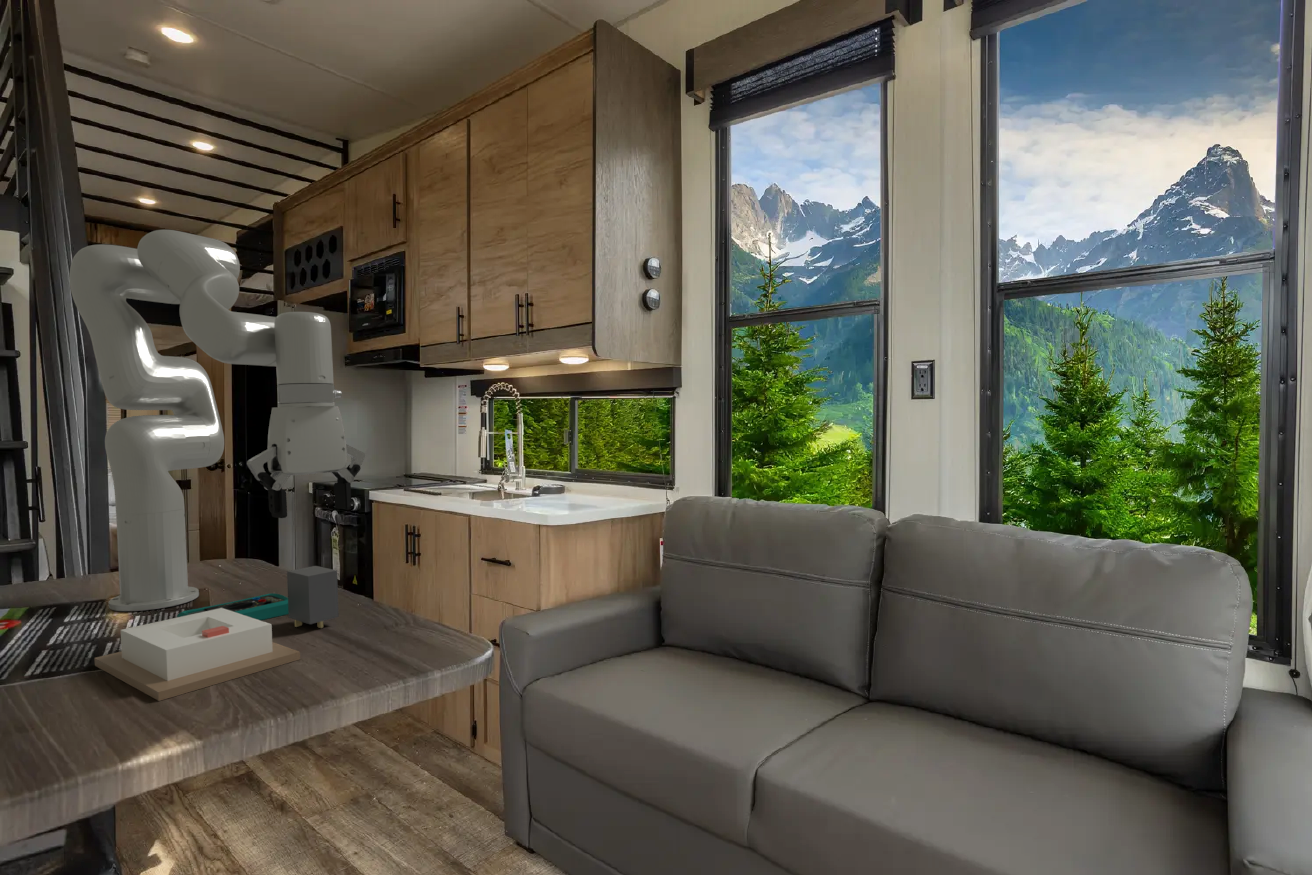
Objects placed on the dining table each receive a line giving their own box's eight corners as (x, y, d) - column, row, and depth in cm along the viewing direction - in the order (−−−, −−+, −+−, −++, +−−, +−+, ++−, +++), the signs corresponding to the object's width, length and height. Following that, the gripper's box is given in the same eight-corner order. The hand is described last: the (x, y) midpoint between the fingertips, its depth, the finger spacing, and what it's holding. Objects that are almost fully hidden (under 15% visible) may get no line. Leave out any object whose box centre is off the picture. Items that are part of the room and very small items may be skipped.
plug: (289, 625, 109) (287, 571, 108) (317, 618, 112) (315, 565, 112) (310, 632, 105) (308, 576, 105) (338, 624, 109) (337, 570, 108)
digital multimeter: (298, 615, 116) (297, 596, 116) (195, 639, 104) (194, 619, 104) (276, 607, 121) (275, 590, 120) (174, 630, 109) (173, 611, 109)
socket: (94, 665, 93) (92, 625, 92) (228, 632, 106) (226, 597, 105) (158, 700, 81) (156, 654, 81) (300, 659, 94) (298, 619, 94)
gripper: (346, 398, 116) (351, 504, 117) (232, 398, 103) (238, 519, 103) (374, 396, 112) (379, 507, 113) (258, 396, 98) (265, 522, 99)
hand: (312, 512), depth 108 cm, fingers open, 9 cm apart
